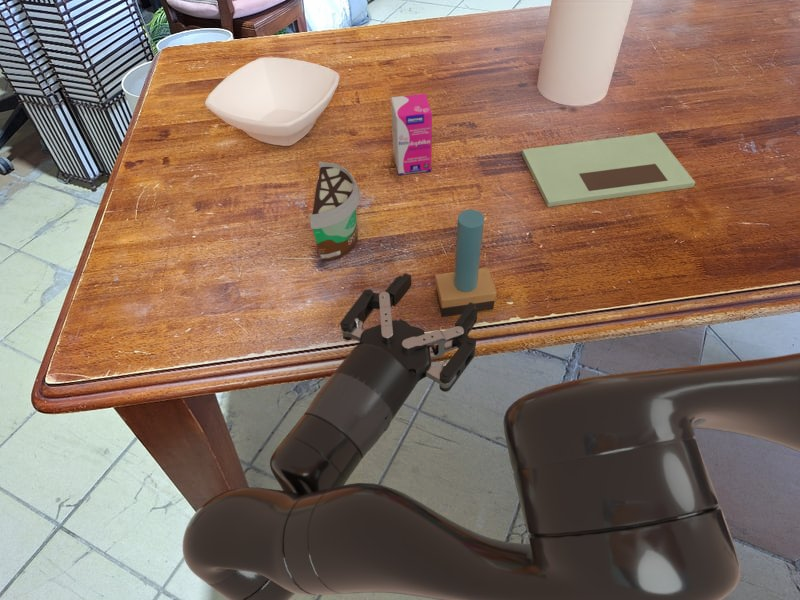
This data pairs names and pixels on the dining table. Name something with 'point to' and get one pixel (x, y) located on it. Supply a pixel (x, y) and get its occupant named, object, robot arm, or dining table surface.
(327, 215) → the food container
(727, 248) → the dining table surface
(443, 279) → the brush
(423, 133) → the supplement box
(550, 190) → the board
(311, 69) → the bowl
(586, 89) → the canister
